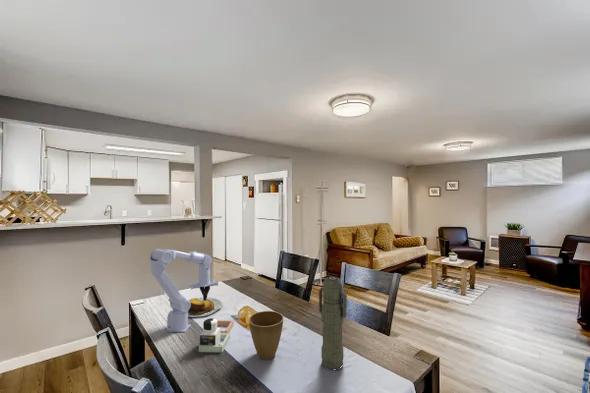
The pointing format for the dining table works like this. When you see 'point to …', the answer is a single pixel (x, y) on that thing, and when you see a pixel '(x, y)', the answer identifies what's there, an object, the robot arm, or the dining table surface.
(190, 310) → the food on plate
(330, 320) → the thermos
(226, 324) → the terracotta bay
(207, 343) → the medicine bottle
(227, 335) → the sage bay
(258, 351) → the plant pot
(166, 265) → the robot arm
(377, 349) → the dining table surface
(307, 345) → the dining table surface
